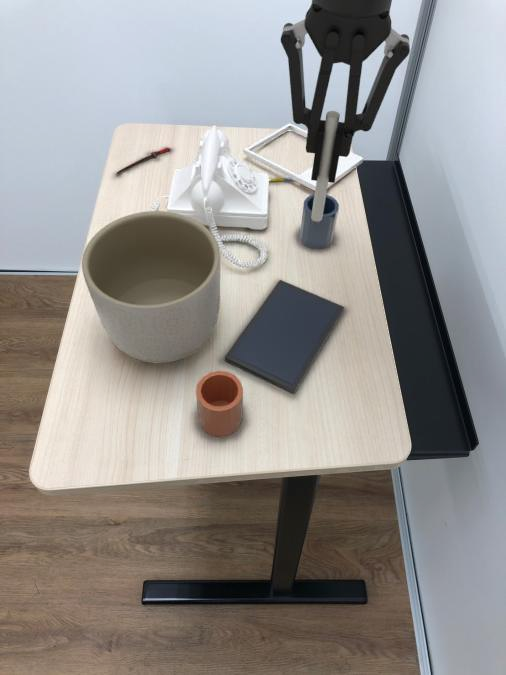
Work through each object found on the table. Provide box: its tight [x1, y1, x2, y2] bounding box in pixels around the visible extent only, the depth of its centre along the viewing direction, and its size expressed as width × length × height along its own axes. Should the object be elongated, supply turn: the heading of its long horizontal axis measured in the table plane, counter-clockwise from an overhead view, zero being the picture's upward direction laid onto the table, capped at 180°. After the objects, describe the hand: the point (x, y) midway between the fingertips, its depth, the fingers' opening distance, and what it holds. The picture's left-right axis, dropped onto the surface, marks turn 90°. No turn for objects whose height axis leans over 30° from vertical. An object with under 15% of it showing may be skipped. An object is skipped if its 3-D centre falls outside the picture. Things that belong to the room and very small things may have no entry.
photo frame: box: [242, 122, 364, 192], centre depth 103 cm, size 15×1×18 cm
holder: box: [299, 193, 340, 250], centre depth 89 cm, size 6×6×7 cm
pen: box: [269, 178, 294, 182], centre depth 100 cm, size 14×1×1 cm, turn 98°
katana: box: [116, 147, 171, 175], centre depth 102 cm, size 13×2×1 cm, turn 136°
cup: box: [195, 370, 244, 438], centre depth 68 cm, size 6×6×7 cm
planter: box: [81, 210, 221, 364], centre depth 73 cm, size 17×17×15 cm
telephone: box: [149, 124, 270, 269], centre depth 88 cm, size 25×21×12 cm
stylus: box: [311, 110, 341, 225], centre depth 67 cm, size 2×2×16 cm
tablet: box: [224, 279, 345, 395], centre depth 79 cm, size 11×17×1 cm, turn 151°
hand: (323, 174), depth 67 cm, fingers closed on stylus, 1 cm apart
